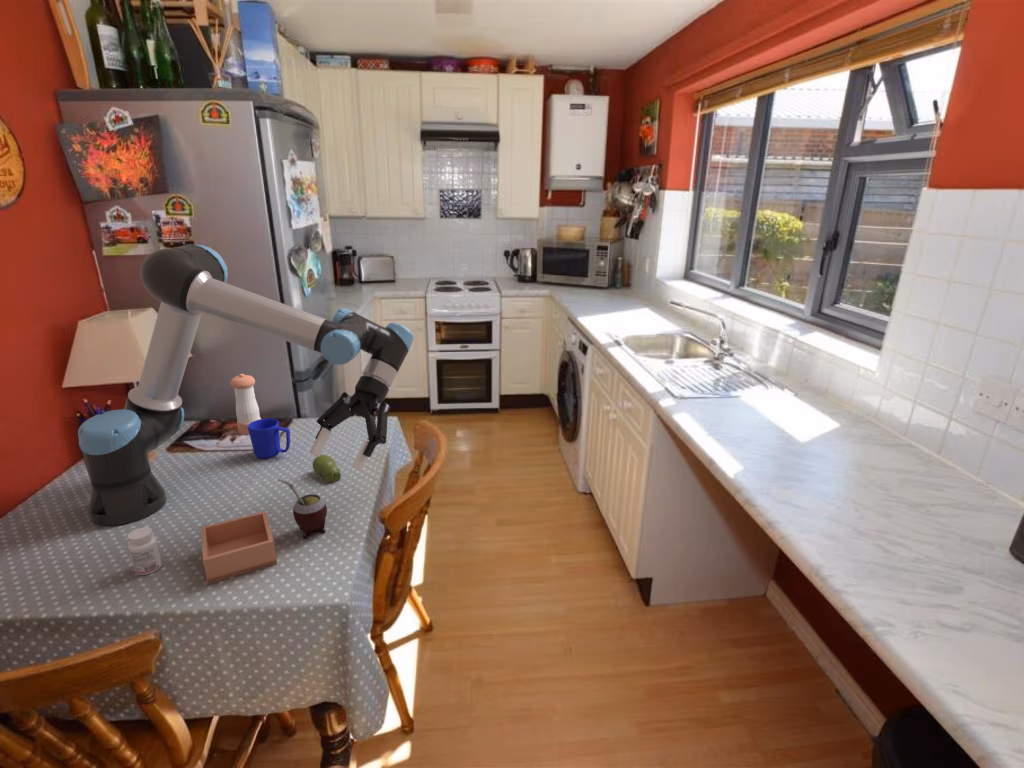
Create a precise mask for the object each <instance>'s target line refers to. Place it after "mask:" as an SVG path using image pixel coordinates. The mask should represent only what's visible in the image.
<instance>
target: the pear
mask: <svg viewBox="0 0 1024 768" xmlns="http://www.w3.org/2000/svg"><path fill="white" fill-rule="evenodd" d="M312 468H313V471H314V472H315V473H316V474H317V475H320V476H323V479H324V480H323V481H325V482H326V483H328V484H330V483H334V481H335V482H338V481H340V480H341V479H342V474H341V469H340V468H339V467H338V466H337V463H336V460H335V459H334V458H333V457H331V456H329V455H327V454H320V456H319V457H318V456H316V457H315V458H314V459H313V461H312Z"/></svg>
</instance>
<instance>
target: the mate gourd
mask: <svg viewBox="0 0 1024 768" xmlns="http://www.w3.org/2000/svg"><path fill="white" fill-rule="evenodd" d="M277 481H278V482H280V483H283V484H286V485H287V486H288V487H289V488H290V490H291V491H292V492H293V494H294V495H295V497H296V498H297V500H296V502H295V503H294V505H293V507H292V508H293V510H292V515H293V518H294V521H295V523H296V525H297V526H298V528H299V530H301V531H302V532H303V534H304V535H303V536H302V538H303V539H304V540H305V539H308V538H309V537H310V536H311V535H312V534H313V533H318V534H325V533H326V529H325V526H326V519H327V513H328V507H327V505H326V502H325V500H324V498H323V497H322V496H320V495H318V494H314V493H312V494H306V495H303V496H300V495H299V493H298V491H297V490H296V488H295V486H294V484H293V483H291V482H289V481H286V480H283V479H280V478H278V479H277Z"/></svg>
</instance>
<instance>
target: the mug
mask: <svg viewBox="0 0 1024 768" xmlns="http://www.w3.org/2000/svg"><path fill="white" fill-rule="evenodd" d="M248 431H249V434H248V435H249V438H250V441H251V445H252V449H253V454H254V455H255V457H256V458H257V459H260V460H261V459H262V460H266V459H268V460H269V459H271V458H274V457H277V456H278V455H279V454H280V453H286V452H288V450H289V449H290V446H291V429H290V428H288V427H283V426H280V421H279V420H277V418H261V419H260V420H256V421H253V422H251V423H250V424H249V425H248ZM280 431H282V432H285V434H286V435H285V436H286V437H285V438H286V441H285V442H286V445H285V446H286V447H285V449H282V448H281V439H280V438H281V436H280V434H281V433H280Z"/></svg>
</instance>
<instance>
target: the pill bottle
mask: <svg viewBox="0 0 1024 768" xmlns="http://www.w3.org/2000/svg"><path fill="white" fill-rule="evenodd" d="M127 540H128V541H127V542H128V545H127V546H128V547H127V548H128V553H129V556H130V559H131V564H132V567H133V570H134V573H135V575H141V576H143V575H144V576H146V575H149V574H152V573H154V572H156V571H158V570H159V569H160V568H161V567H162V565H163V560H162V556H161V552H160V548H159V545H158V541H157V537H156V536H155V535H154V533H153V531H152V529H151V527H147V526H146V527H139V528H136V529H134V530H132V531H131V532H129V533H128V534H127Z"/></svg>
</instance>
